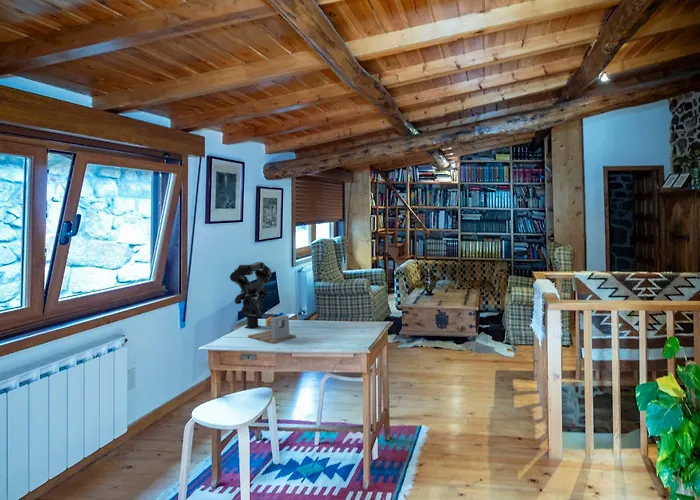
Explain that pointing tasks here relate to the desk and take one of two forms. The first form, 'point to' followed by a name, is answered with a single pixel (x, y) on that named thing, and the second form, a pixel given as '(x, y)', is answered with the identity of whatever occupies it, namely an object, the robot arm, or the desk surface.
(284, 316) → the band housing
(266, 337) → the walnut board
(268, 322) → the gold rounded piece
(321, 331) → the desk surface
